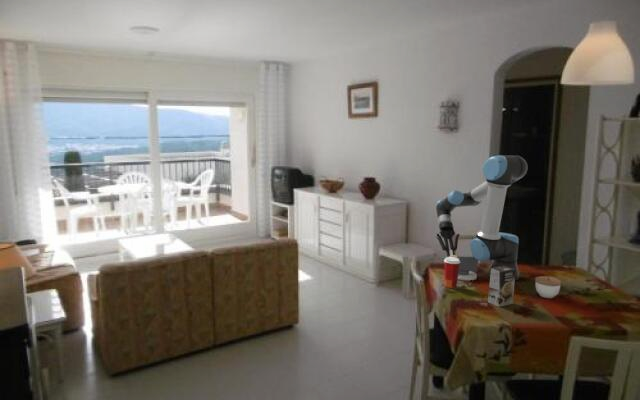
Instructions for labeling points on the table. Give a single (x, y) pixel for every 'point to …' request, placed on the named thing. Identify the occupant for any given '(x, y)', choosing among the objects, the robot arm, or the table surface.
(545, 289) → the white bowl
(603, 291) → the table surface
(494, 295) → the coffee box
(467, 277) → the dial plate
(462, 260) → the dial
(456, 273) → the paper cup
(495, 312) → the table surface
